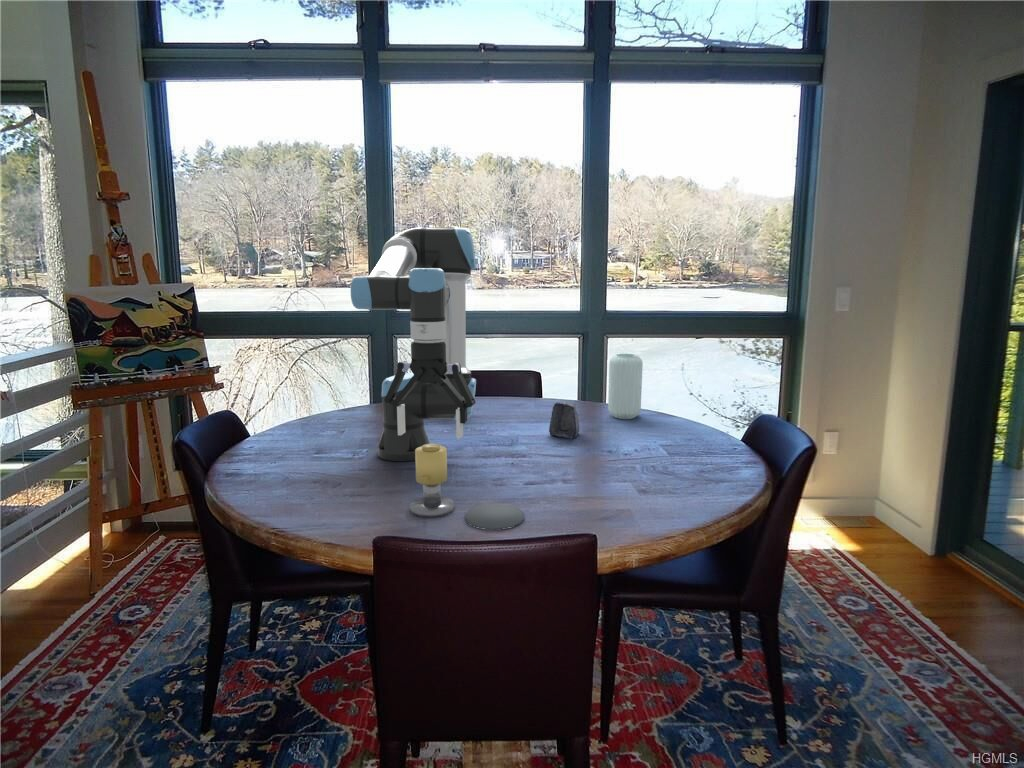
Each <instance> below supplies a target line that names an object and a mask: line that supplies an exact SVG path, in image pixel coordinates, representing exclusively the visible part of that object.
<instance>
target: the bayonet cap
mask: <svg viewBox="0 0 1024 768" xmlns="http://www.w3.org/2000/svg"><path fill="white" fill-rule="evenodd" d="M414 461H415V481H416V482H417V483H418V484H420V485H423V484H425V485H435V484H444V483H445V482H446V481H448V449H447V447H446V446H443V445H441V444H439V443H430V444H425V445H423V446H421V447H418V448H416V449H415V460H414Z"/></svg>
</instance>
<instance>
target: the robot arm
mask: <svg viewBox="0 0 1024 768" xmlns="http://www.w3.org/2000/svg"><path fill="white" fill-rule="evenodd" d="M476 269H477V263H476V254H475V247H474V240H473V235H472V232H471V230H470V229H469V228H466V227H455V226H453V227H447V226H446V227H413V228H409V229H406V230H404V231H400V232H398V233H397V234H395V235H393V236H392V237H391V238H390V239H389V240H388V241H386V242H385V244H384V245H383V247H382V250H381V257H380V259H379V260H378V262H377V263H376V265H375V267H374V268H373V269H372V271H371V272H370V273H369V275H362V276H354V277H353V278H352V280H351V283H350V299H351V303H352V306H353V307H354V308H355V309H357V310H368V311H372V310H373V311H374V310H375V311H376V310H386V311H388V310H400V311H401V310H407V311H408V310H409V311H410V320H409V321H410V323H409V324H410V326H409V327H410V339H411V340H413V341H411V343H410V357H411V360H410V361H411V362H407V361H406V360H402V361H399V362H397V364H396V365H397V366H396V367H397V368H396V373H395V375H391V376H389V377H386V378H384V380H383V381H382V382H381V383H382V384H381V396H380V397H381V408H382V411H381V412H382V432H381V435H380V439H379V442H378V446H377V456H378V458H380V459H381V460H382V459H383V460H386V461H392V462H411V461H415V449H416V448H418V447H421V446H423V445H425V444H431V443H430V441H429V437H428V435H427V432H426V429H425V421H424V420H453V421H455V429H456V430H455V436H456V437H455V438H456V439H457V440H460V439H462V438H463V437H464V424H466V423H467V421H468V419H469V418H471V416H472V414H473V409H474V405H475V404H476V399H475V395H476V391H477V390H476V388H477V387H476V386H477V379H476V378H474V377H472V371H471V370H469V368H468V367H467V362H466V361H467V353H466V352H467V351H466V349H467V346H466V342H467V339H466V338H467V337H466V329H467V328H466V327H467V326H466V325H467V324H466V323H467V322H466V318H467V316H466V314H467V312H466V309H467V307H466V303H467V302H466V301H467V300H466V290H467V289H466V284H467V283H466V282H467V281H468V280H470V278H471V277H472V271H474V270H476ZM408 272H409V276H407V273H408ZM409 370H410V372H409Z"/></svg>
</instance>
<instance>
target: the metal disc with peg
mask: <svg viewBox="0 0 1024 768" xmlns="http://www.w3.org/2000/svg"><path fill="white" fill-rule="evenodd" d="M441 484H442V483H441ZM441 484H435V485H425V484H422V496H423V497H420V498H418V499H415V500H413V501H412V502H411V503H410V504H409V511H410V514H412V515H413V516H414V517H417V518H421V517H422V518H421V519H437V518H438V517H439V518H443V517H446V516H445V515H447V516H449V515H451V514H453V512H454V511H455V502H454V500H453V499H451V498H448V497H445V496H442V488H441V487H442V485H441ZM450 513H451V514H450ZM448 514H449V515H448ZM442 516H443V517H442Z"/></svg>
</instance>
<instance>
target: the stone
mask: <svg viewBox="0 0 1024 768" xmlns="http://www.w3.org/2000/svg"><path fill="white" fill-rule="evenodd" d="M579 419H580V418H579V414H578V411H577V407H576V403H575V402H574V403H573V402H572V403H570V402H568V401H560V402H559V401H558V402H555V403H554V404H553V406H552V410H551V418H550V423H549V427H548V428H549V430H548V432H549V435H550V436H553V437H554V436H555V437H557V438H558V437H559V438H560V437H561V438H566V439H575V438H577V436H578V434H579V432H580V420H579Z"/></svg>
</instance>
